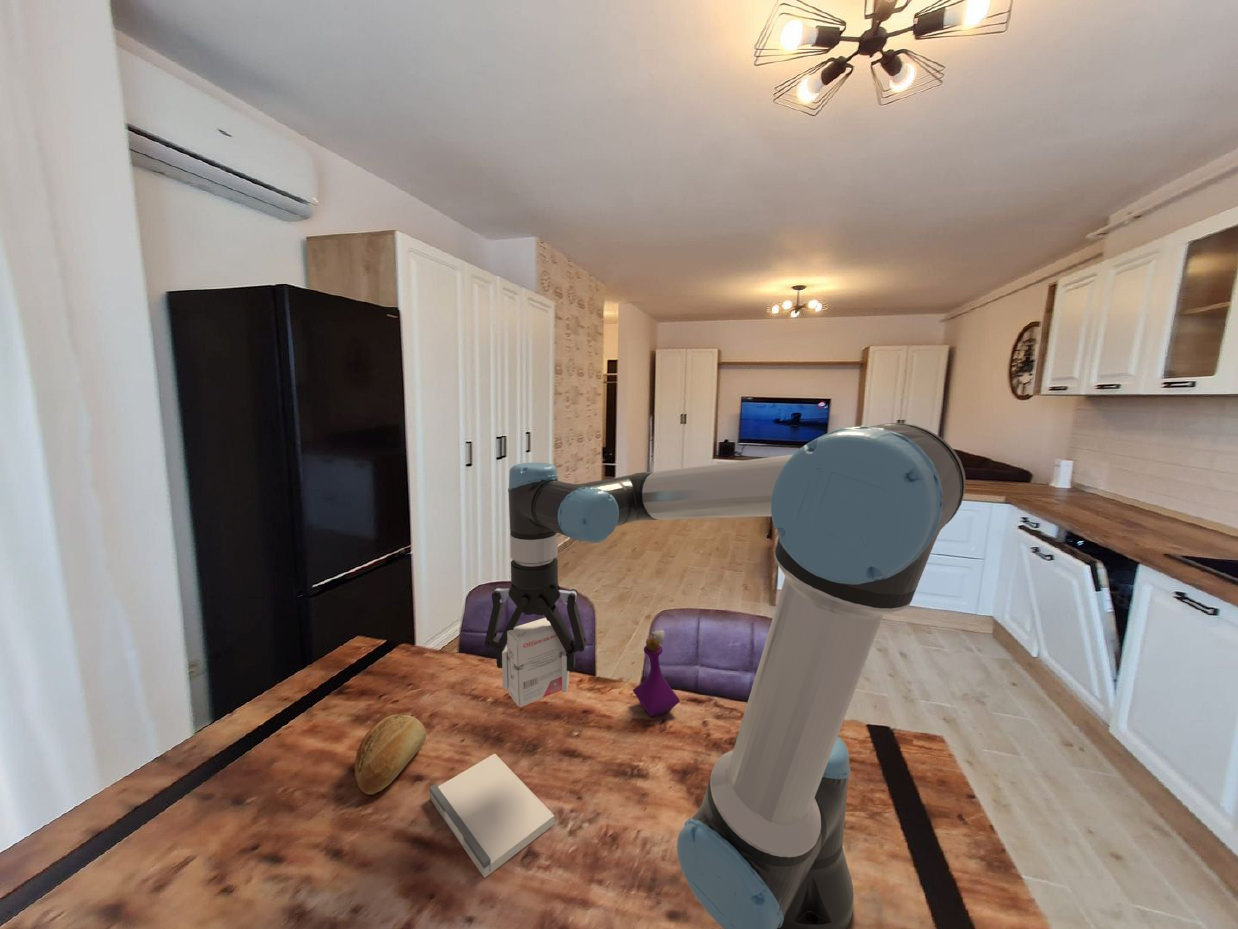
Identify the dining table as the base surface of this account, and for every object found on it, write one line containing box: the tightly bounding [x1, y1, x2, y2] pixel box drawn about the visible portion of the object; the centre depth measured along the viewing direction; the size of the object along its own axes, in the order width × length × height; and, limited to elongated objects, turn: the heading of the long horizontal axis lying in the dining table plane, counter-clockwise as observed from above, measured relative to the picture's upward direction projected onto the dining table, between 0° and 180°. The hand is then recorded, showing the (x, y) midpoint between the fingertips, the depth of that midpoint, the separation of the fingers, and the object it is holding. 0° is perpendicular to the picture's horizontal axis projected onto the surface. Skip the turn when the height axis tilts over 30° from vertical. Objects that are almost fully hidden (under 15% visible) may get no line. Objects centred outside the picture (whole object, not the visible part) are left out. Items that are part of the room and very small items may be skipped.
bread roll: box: [354, 713, 427, 795], centre depth 84 cm, size 10×15×8 cm, turn 173°
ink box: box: [506, 617, 564, 708], centre depth 79 cm, size 9×5×12 cm, turn 126°
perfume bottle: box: [632, 629, 681, 718], centre depth 99 cm, size 8×8×18 cm
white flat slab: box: [429, 753, 555, 879], centre depth 76 cm, size 18×12×2 cm
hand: (536, 685), depth 80 cm, fingers closed on ink box, 9 cm apart
